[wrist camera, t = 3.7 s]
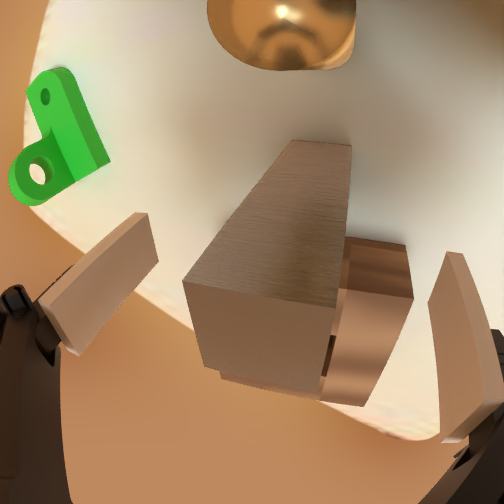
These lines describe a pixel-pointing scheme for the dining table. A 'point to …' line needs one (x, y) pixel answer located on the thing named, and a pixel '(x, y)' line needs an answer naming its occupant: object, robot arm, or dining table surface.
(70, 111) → the mechanical part
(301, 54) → the round bit
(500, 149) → the dining table surface
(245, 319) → the square bit
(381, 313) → the bore block
